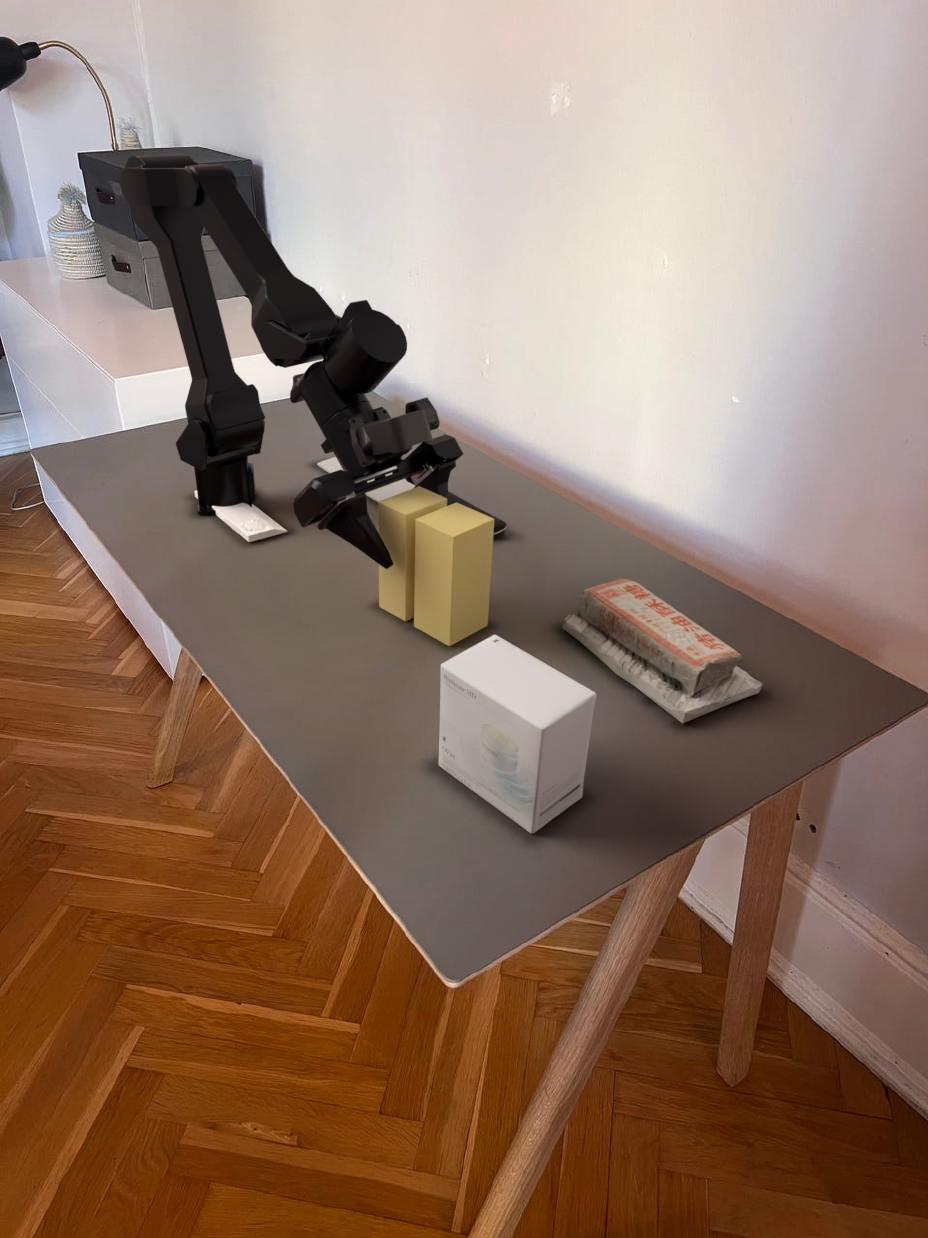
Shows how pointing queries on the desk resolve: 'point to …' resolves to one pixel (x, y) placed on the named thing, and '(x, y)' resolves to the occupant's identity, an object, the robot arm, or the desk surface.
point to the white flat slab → (248, 521)
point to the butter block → (452, 572)
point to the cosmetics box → (514, 731)
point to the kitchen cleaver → (403, 486)
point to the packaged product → (659, 650)
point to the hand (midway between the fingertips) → (422, 552)
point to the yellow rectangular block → (402, 547)
